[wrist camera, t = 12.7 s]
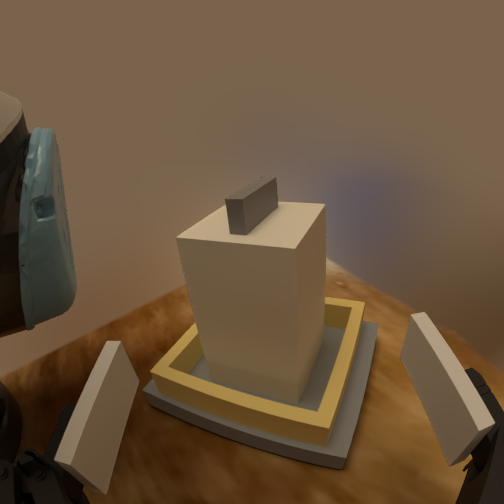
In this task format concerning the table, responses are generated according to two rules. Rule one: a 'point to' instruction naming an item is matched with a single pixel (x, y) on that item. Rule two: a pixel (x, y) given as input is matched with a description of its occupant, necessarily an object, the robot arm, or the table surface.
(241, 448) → the table surface
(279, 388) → the beige rectangular block
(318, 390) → the tray
